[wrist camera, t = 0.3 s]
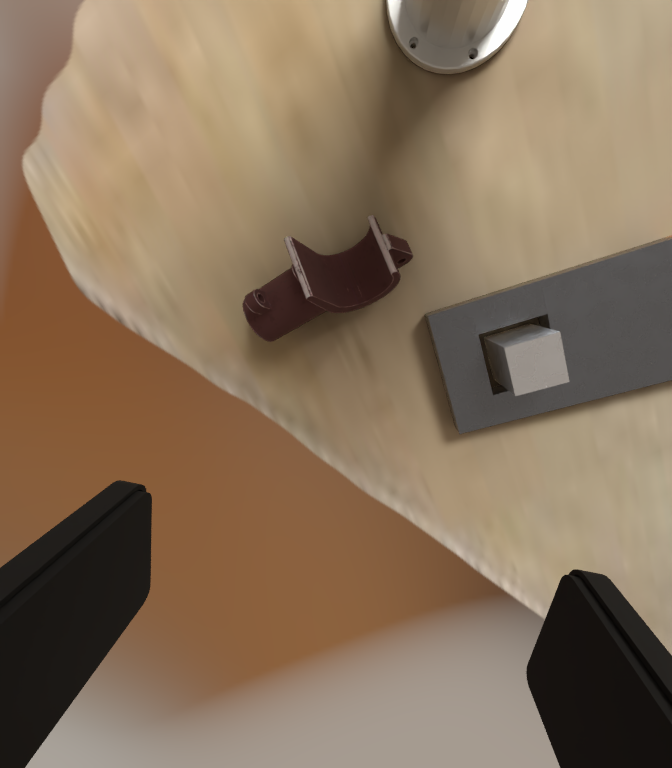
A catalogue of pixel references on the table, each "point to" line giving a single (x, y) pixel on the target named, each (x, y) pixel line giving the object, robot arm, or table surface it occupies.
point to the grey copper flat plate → (564, 335)
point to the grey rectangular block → (527, 358)
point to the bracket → (326, 283)
